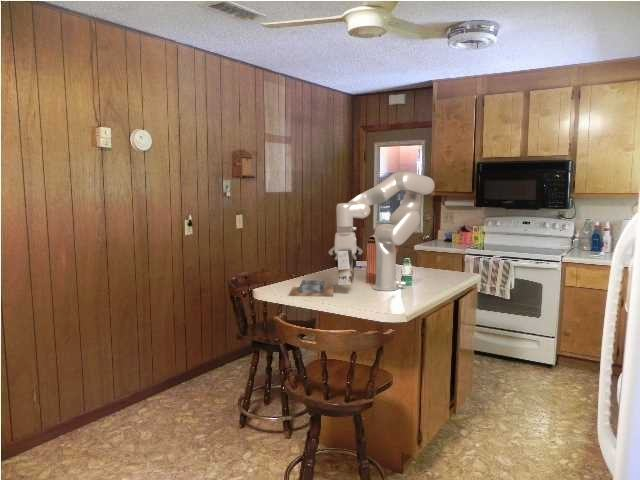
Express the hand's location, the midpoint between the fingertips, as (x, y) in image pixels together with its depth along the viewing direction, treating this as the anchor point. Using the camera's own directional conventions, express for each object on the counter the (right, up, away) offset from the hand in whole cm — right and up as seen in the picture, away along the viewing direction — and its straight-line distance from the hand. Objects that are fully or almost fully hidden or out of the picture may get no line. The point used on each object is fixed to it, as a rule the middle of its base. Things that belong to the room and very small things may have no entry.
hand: (346, 267), depth 230 cm
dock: (-16, -12, +2) cm, 20 cm away
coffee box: (0, -7, +1) cm, 8 cm away
